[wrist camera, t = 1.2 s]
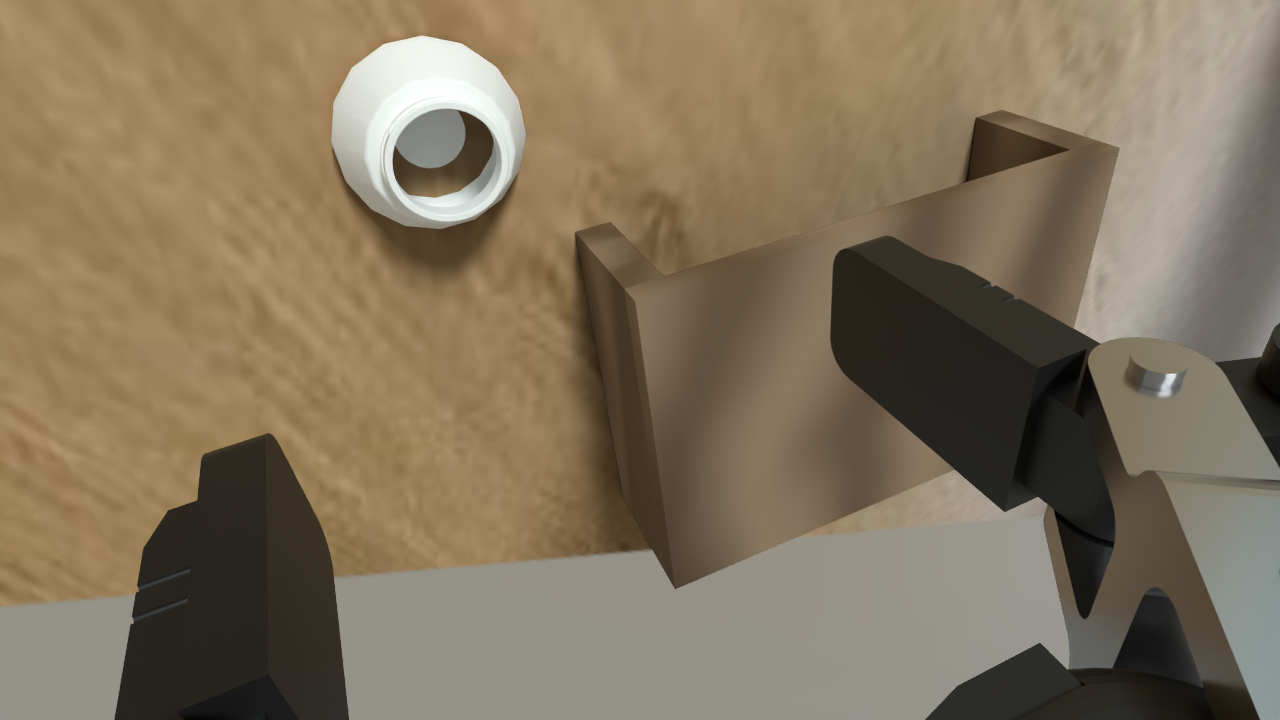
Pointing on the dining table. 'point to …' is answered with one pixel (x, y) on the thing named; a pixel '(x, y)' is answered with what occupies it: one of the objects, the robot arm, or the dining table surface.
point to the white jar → (424, 127)
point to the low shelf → (810, 350)
